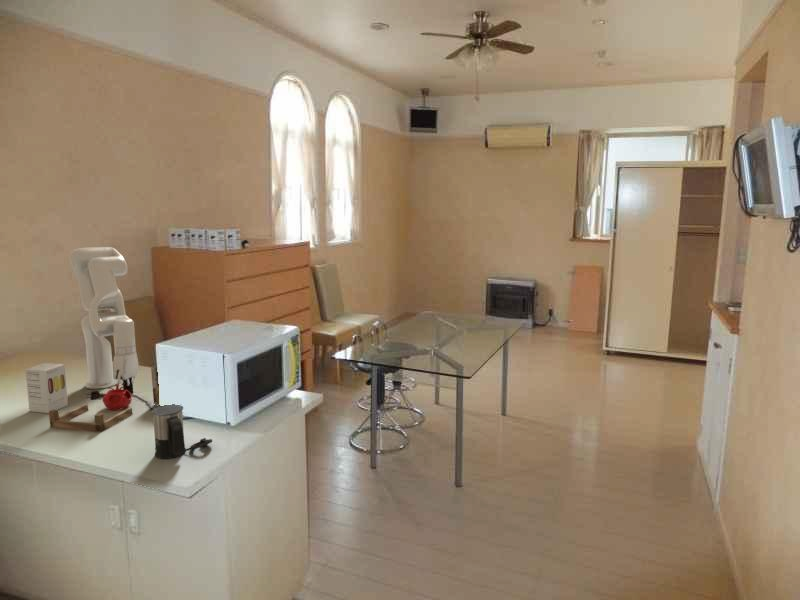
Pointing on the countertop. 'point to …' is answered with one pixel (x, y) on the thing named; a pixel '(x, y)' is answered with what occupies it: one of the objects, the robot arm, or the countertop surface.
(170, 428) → the milk frother
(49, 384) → the supplement box
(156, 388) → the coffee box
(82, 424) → the display stand
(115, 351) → the robot arm
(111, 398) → the red tomato
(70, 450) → the countertop surface
